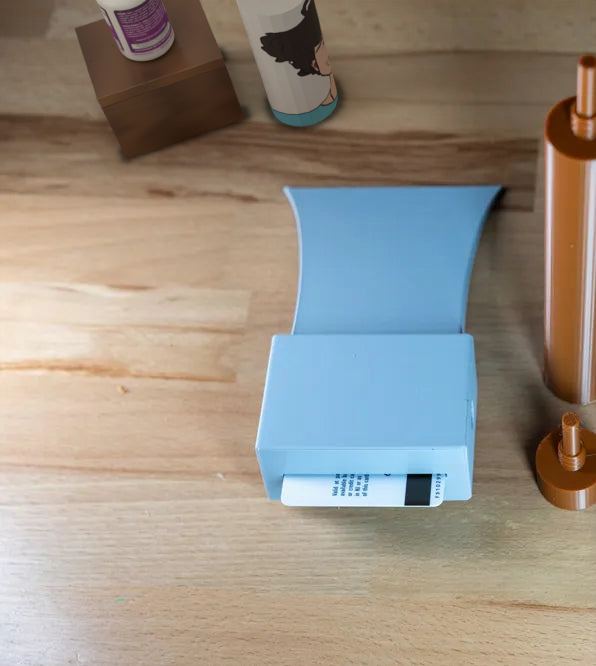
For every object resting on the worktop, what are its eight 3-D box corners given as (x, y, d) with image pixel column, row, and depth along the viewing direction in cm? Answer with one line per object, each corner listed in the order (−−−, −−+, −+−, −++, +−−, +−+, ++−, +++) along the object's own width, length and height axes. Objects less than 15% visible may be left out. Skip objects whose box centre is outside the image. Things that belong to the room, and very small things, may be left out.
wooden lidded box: (128, 162, 115) (96, 99, 107) (106, 92, 120) (74, 27, 112) (246, 121, 117) (222, 57, 109) (218, 55, 122) (194, -12, 114)
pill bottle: (185, 27, 112) (154, -54, 103) (161, 67, 109) (127, -12, 101) (134, 17, 113) (99, -64, 104) (109, 57, 110) (71, -22, 102)
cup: (346, 117, 117) (317, 3, 104) (280, 137, 116) (243, 24, 103) (329, 70, 120) (299, -46, 107) (265, 89, 119) (227, -26, 106)
